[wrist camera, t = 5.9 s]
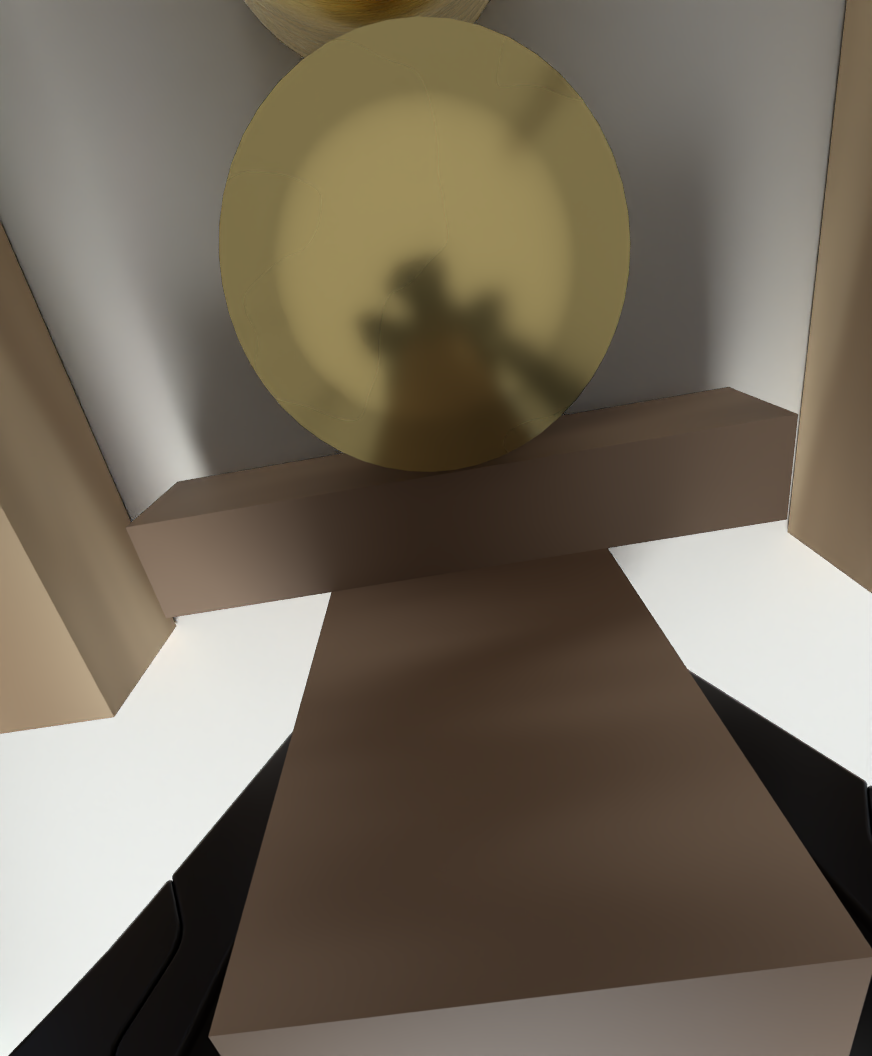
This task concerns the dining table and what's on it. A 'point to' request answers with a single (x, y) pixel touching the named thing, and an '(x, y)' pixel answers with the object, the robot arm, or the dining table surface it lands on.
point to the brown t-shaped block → (513, 758)
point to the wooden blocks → (101, 519)
